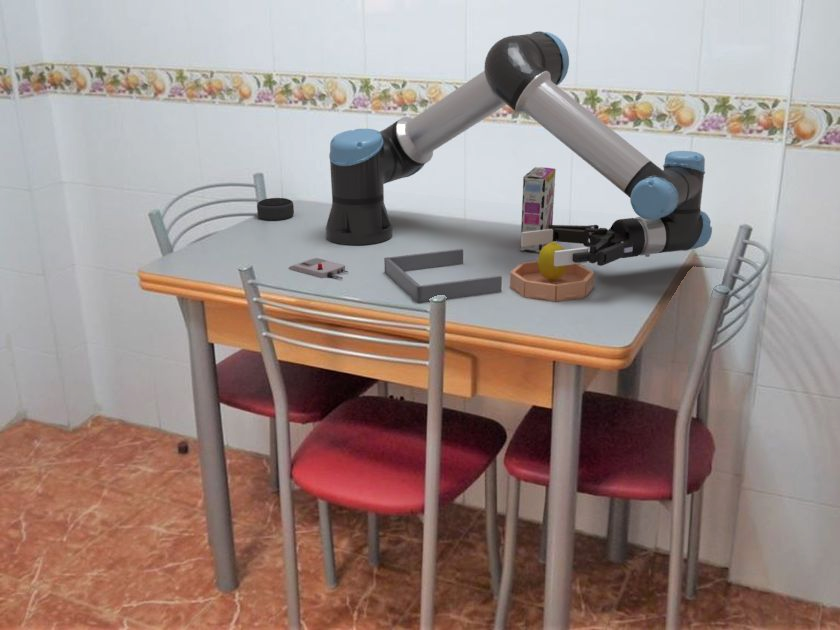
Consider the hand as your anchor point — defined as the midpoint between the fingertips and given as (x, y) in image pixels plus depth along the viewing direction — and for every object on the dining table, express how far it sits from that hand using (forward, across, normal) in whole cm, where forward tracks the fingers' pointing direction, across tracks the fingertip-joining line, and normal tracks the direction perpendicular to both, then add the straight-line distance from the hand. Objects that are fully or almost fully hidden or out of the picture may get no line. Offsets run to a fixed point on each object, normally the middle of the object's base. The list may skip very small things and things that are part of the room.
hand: (537, 248), depth 174 cm
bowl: (-3, 0, -8) cm, 9 cm away
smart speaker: (+35, +73, -8) cm, 81 cm away
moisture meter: (+35, +27, -9) cm, 45 cm away
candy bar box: (-13, +26, -8) cm, 30 cm away
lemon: (-3, 0, -7) cm, 8 cm away
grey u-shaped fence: (+15, +11, -8) cm, 20 cm away
